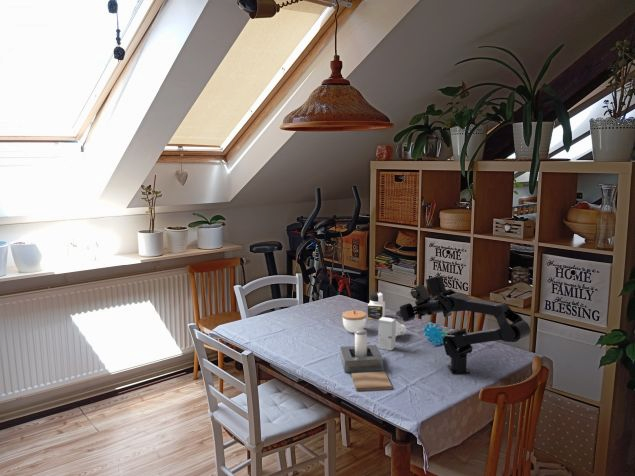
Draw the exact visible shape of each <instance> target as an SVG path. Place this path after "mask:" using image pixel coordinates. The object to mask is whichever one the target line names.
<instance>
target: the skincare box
mask: <svg viewBox="0 0 635 476" xmlns="http://www.w3.org/2000/svg"><path fill="white" fill-rule="evenodd" d="M396 321H397V319H396V318H391V317H386V316H384V317H382V318H380V319H379V320H378V333H377V334H378V339H377V341H378V342H377V348H378V349H382V350H386V351H393V350H394V349H395V347H396V337H395V335H396Z"/></svg>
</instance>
